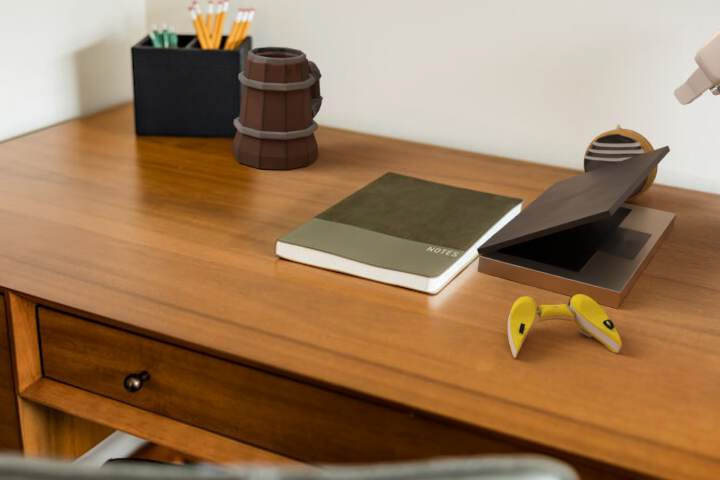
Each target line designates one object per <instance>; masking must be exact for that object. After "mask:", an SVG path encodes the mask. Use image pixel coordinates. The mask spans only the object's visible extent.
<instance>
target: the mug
mask: <svg viewBox="0 0 720 480" xmlns="http://www.w3.org/2000/svg"><path fill="white" fill-rule="evenodd" d="M244 62H245V63H244V70H243V71H241V72H239V73H238V76H237V79H238V81H239V82H240V83H241V84H242V92H241V99H240V100H241V101H240V108H239V116H237V117H236V118H234V119H233V126H234V127H235V129H236V133H235V136H234V138H233V140H232V155H233V156H234V159H236V162H238V163H239V164H243V165H246V166H250V167H253V168H256V169H260V170H262V169H263V170H278V171H279V170H280V171H281V170H283V171H287V170H291V169H292V170H293V169H297V168H302V167H303V168H304V167H309V166H310V165H311V164H313V162H315V160H317V159H318V158H319V157H318V155H319V153H318V152H319V144H318V142H317V139H316V136H315V133H314V132H316V131H317V130H318V128H319V124H318V123H317V121H316V120H315V117H316V116H317V115H318V113H319V112H320V110H321V107H322V103H323V100H324V97H323V96H322V95H321V78H322V73H321V70H320V69H319V67H318V66H317V64H316V63H315V62H314V61H313V60H309V59H308V58H307V54H306V52H304V51H302V50H301V49H298V48H297V49H296V48H293V47H286V46H262V47H254V48H253V49H250V50H249V51H247V55H246V56H245V61H244Z"/></svg>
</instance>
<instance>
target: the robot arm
mask: <svg viewBox="0 0 720 480" xmlns="http://www.w3.org/2000/svg"><path fill="white" fill-rule="evenodd" d="M694 61H695V64H697V66H698V67H697V68H696V69H695V70H694V71H693V72H692V73H691V75H690V76H689V77H688V78H687V79H686V81H684V82H683V83H682V84H680V85H679V86H677V88H675V89H674V91H673V95H674V97H675V98H676V100H677V101H678V102H679V104H680V105H683V106H685V105H690V104H691V103H693V102H694V101H695V100H697V99H699V98H700V97H702V96H703V94H704V93H705V92H707V91H708V90H709V91H710V93H711V94H712V95H713V96H720V29H718V30H717V31H716V32H715V33H714V34H713V35H712V36H711V37H710V38H709V39H707V40H706V41H705V42H704V43H703V44H702V45H701V47H700V48H699V49H698V51H697V52H696V53H695V55H694Z"/></svg>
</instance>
